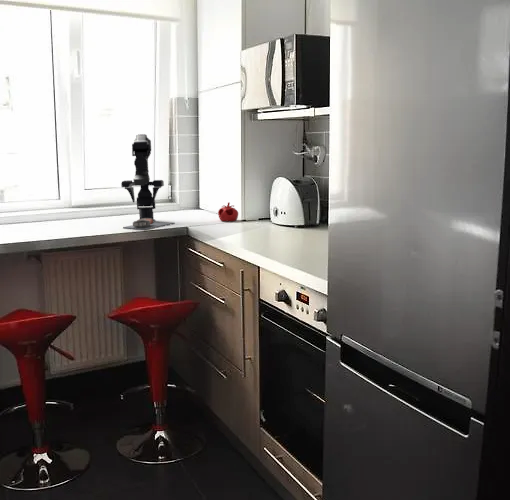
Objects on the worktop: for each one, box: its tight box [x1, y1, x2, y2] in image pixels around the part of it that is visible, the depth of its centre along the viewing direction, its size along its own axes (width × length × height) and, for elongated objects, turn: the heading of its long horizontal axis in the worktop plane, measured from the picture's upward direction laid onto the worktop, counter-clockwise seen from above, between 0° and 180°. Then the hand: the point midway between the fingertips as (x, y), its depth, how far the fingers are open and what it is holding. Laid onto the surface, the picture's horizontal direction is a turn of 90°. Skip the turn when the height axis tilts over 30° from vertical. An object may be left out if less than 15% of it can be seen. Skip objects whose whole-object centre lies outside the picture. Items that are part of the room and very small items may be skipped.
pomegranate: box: [217, 202, 239, 222], centre depth 297 cm, size 10×10×9 cm
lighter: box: [132, 218, 155, 227], centre depth 279 cm, size 8×3×10 cm
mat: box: [122, 220, 176, 231], centre depth 285 cm, size 13×22×1 cm, turn 148°
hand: (143, 202), depth 278 cm, fingers open, 9 cm apart
